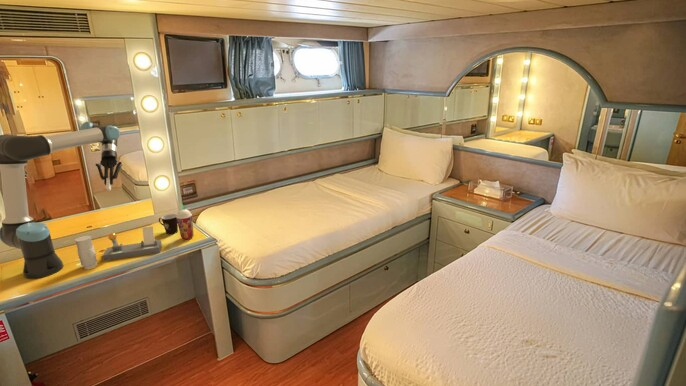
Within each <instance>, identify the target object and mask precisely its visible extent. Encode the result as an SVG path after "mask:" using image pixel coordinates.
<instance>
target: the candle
mask: <svg viewBox="0 0 686 386" xmlns="http://www.w3.org/2000/svg"><path fill="white" fill-rule="evenodd" d="M92 240H93V239H92V235H83V236H79V237H77V238H75V239H74V242H75V244H76V245H75V246H76V248H77V256H78V259H79V260H80V265H81V266H82V269H83V270H90V269H93V268H96V267H97V266H98V264H97V262H98V259H97V256H96V255H97V253H96V249H95V246H94V244H93V241H92Z"/></svg>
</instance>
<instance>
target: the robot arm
mask: <svg viewBox="0 0 686 386" xmlns="http://www.w3.org/2000/svg"><path fill="white" fill-rule="evenodd" d="M120 135H121V131H120V129H119V128H118V127H117V126H115V125H111V124H110V125H104V124H102V125H101V124H94V123H93V122H90V121H85V122H83V123H82V124H81V126H80V129H79V130H75V131H69V132H64V133H58V134H52V135H47V136H45V135H42V134H40V135H33V136H32V135H31V136H30V135H16V134H7V133H6V134H0V178H1V179H0V181H1V189H2V196H3V197H2V198H3V207H4V215H5V216H4V217H5V218H4V219H3V220H1V227H0V241H1V242H2V243H3V244H4V245H6V246H8V247H11V248H16V249H19V250H21V252H22V257H23V259H24V261H23V268H22V273H23V277H24V278H26V279H40V278H45V277H48V276H51V275H53V274H56V273H58V272H59V271H61V270H62V269H63V268H64V263H63V261H62V260H61V258H60V257H59V256H58V255H57V253H56V251H55V248H54V244H53V240H52V236H51V232H50V229H49V227H48V225H47V224H46V223H44V222H34V218H33V217H32V216H30V212H29V203H28V202H29V201H28V193H27V184H26V175H25V173H26V172H25V166H27V165H28V163H29V162H28V161H30V160H34V159H38V158H41V157H46V156H50V155H51V153H54V152H55V153H56V152H58V151H59V152H60V151H62V150H67V149H72V148H77V147H82V146H86V145H90V144H95V143H101V157H100V158H101V159H100V161H99V163H95V167H96V168H97V171H98V173H99V177H100V179H101V180H102V181H103V182H104V185H105V188H106V190H107V192H110V191H111V190H112V185H114V180H116V179H117V178H118V176H119V173H120V170H121V168H122V167H123V163H122V161H118V140H119V138H120ZM102 167H103V168H104V170H103V169H102Z"/></svg>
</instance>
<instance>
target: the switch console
mask: <svg viewBox="0 0 686 386" xmlns="http://www.w3.org/2000/svg"><path fill="white" fill-rule="evenodd" d="M154 239H155V243H152V244H145V245H144V240H141V242H138V243H131V244H130V243H129V244H125V245H123V243H120V244H118V245H119V250H115V247H114V245H113V244H112V246H111V247H110V246H109V247H106V249H105V251H104V253H103V254H102V259H103V262H107V261H113V260H119V259H127V258H132V257H140V256H146V255H152V254H159V253H161V249H162V246H163V243H162V240H161V239H157V238H154Z"/></svg>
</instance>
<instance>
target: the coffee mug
mask: <svg viewBox="0 0 686 386" xmlns="http://www.w3.org/2000/svg"><path fill="white" fill-rule="evenodd" d="M176 216H177V213H169V214H164V215H163V216H161V217H159V218H158V222H159V224H161V226H163V227H164V231H165V233H166V235H174V234H176V233H178V232H179V227H178V223H177V218H176Z"/></svg>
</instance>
